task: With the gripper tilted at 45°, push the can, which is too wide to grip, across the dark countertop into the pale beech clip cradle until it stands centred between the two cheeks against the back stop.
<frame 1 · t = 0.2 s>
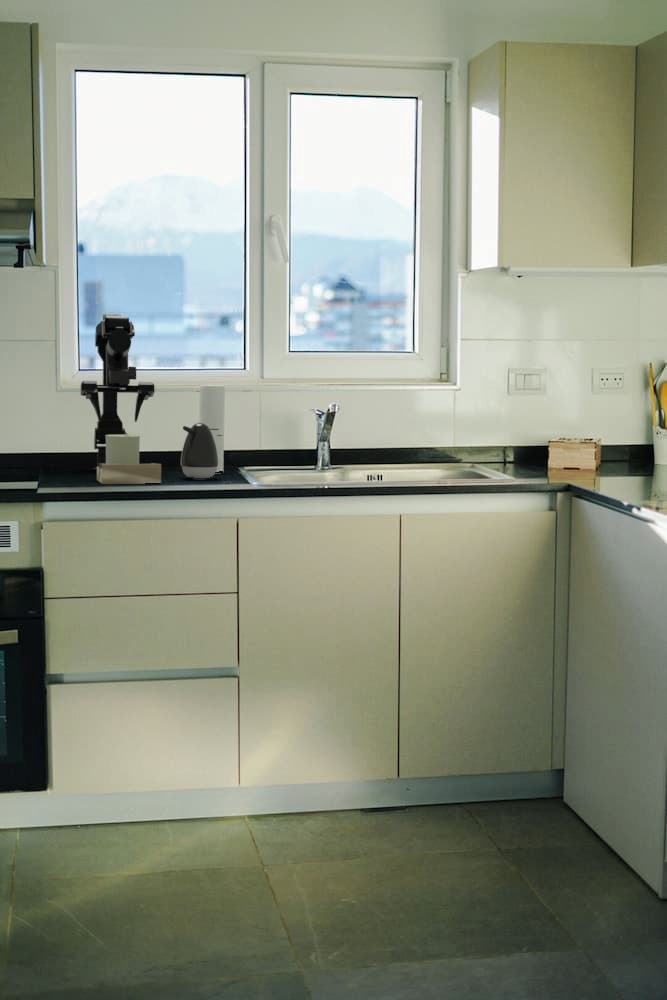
hand: (117, 421, 317), 16 cm above the countertop, tool pointing down, fingers open, 9 cm apart
pump dispenser: (198, 479, 333), on the countertop
can: (122, 479, 329), on the countertop
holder: (127, 481, 320), on the countertop
cylindrical container: (210, 473, 354), on the countertop
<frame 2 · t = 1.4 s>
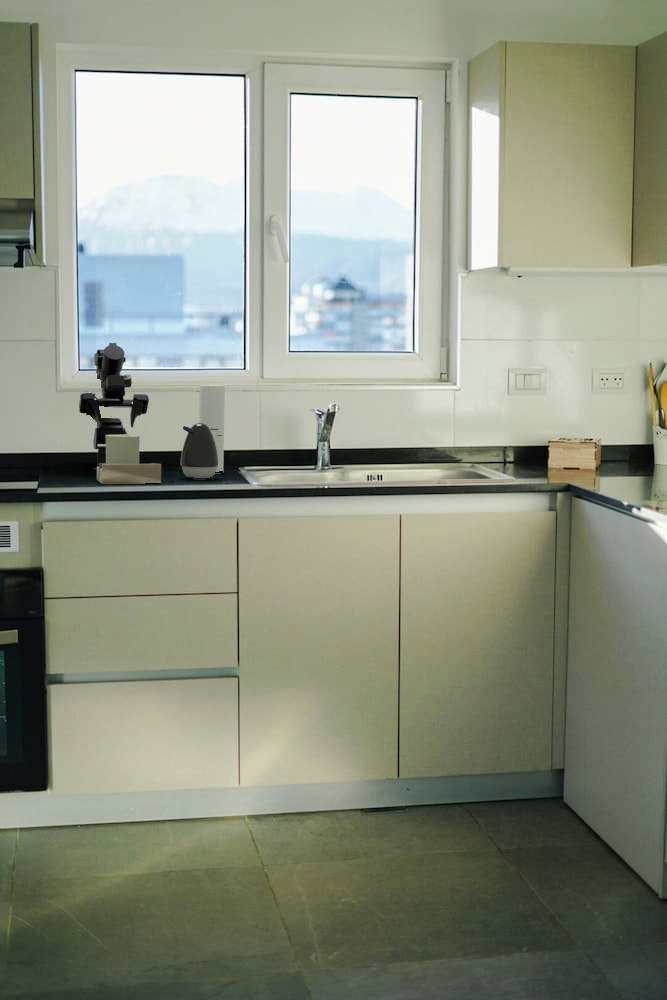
hand: (117, 426, 336), 13 cm above the countertop, tool tilted 45°, fingers open, 8 cm apart
nothing on the countertop moved.
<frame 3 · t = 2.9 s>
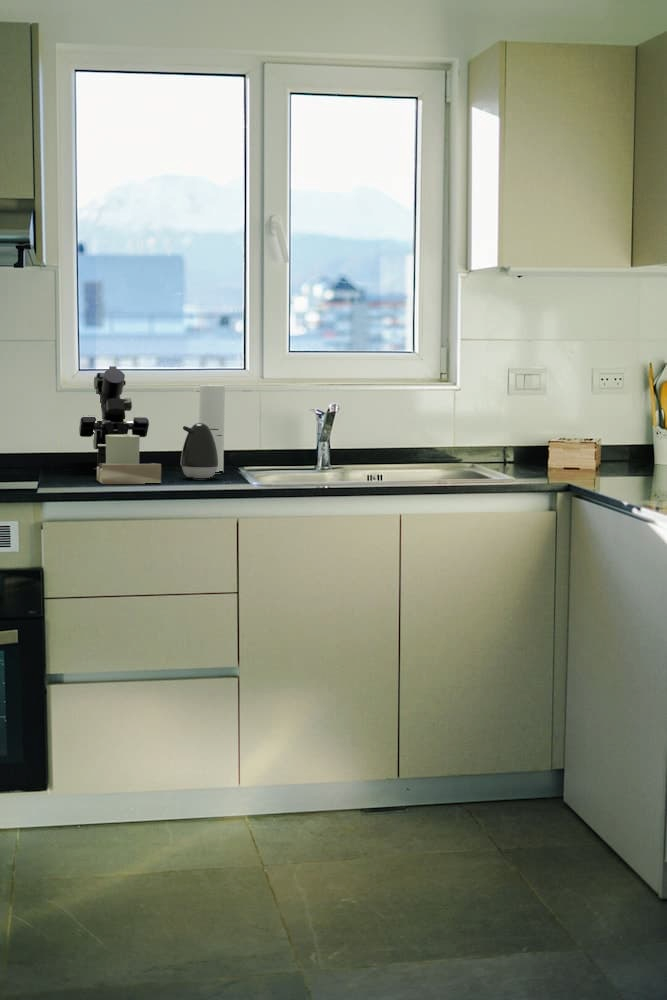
hand: (117, 449, 337), 7 cm above the countertop, tool tilted 45°, fingers closed
nothing on the countertop moved.
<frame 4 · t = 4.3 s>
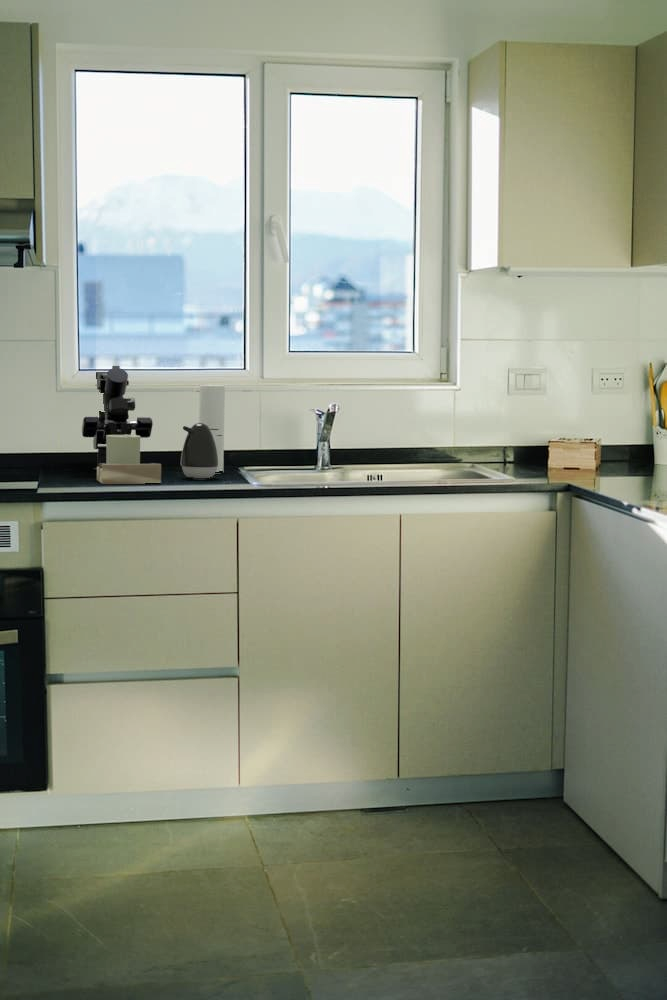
hand: (120, 449, 331), 7 cm above the countertop, tool tilted 45°, fingers closed, pressing on can
can: (123, 479, 328), on the countertop, touching gripper
everything else where it was.
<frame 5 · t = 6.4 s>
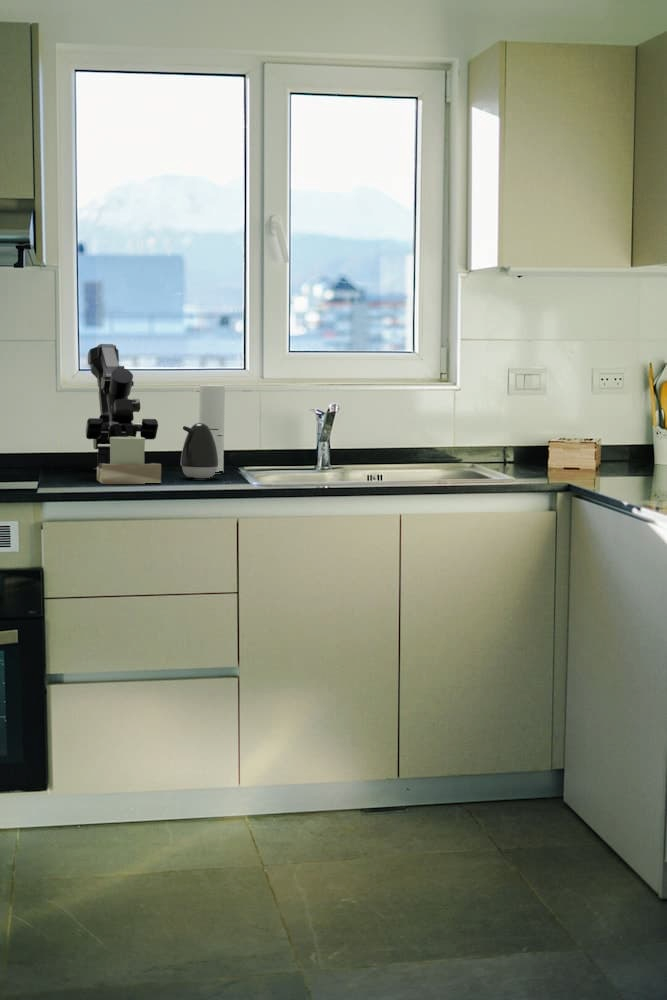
hand: (125, 452, 324), 7 cm above the countertop, tool tilted 45°, fingers closed, pressing on can
can: (127, 482, 320), on the countertop, touching gripper
everything else where it was.
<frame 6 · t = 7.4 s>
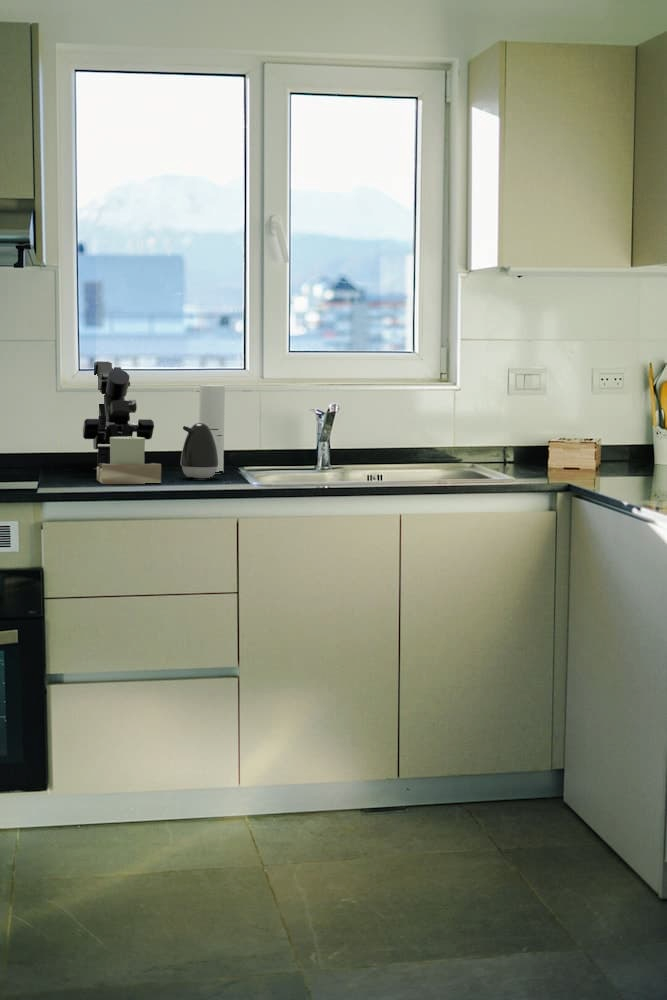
hand: (121, 452, 329), 7 cm above the countertop, tool tilted 45°, fingers closed
can: (127, 482, 320), on the countertop
everything else where it was.
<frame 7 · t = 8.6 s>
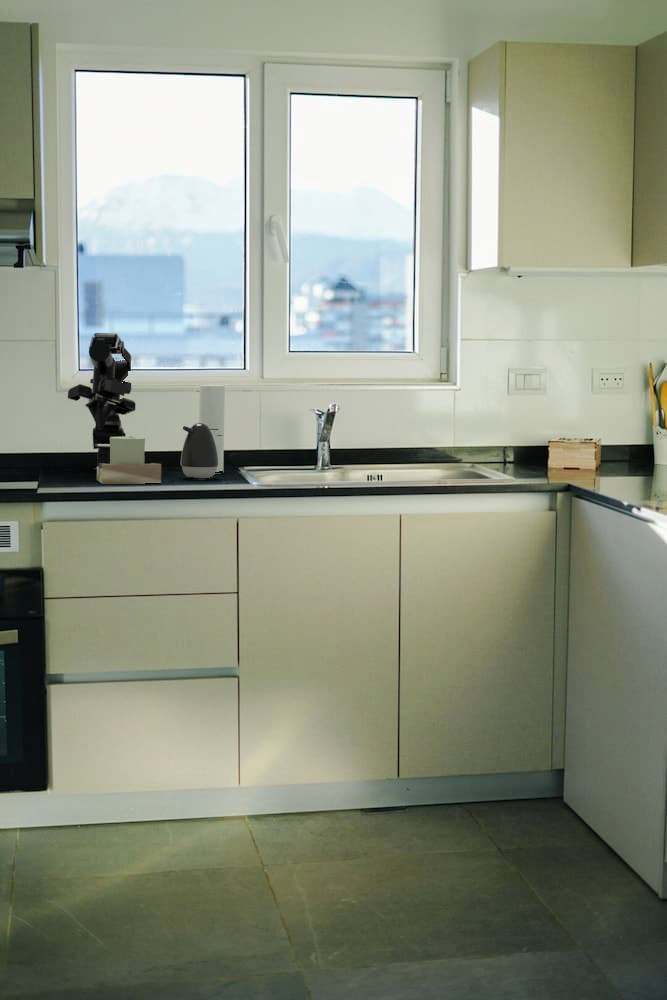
hand: (100, 429, 333), 13 cm above the countertop, tool tilted 20°, fingers closed
nothing on the countertop moved.
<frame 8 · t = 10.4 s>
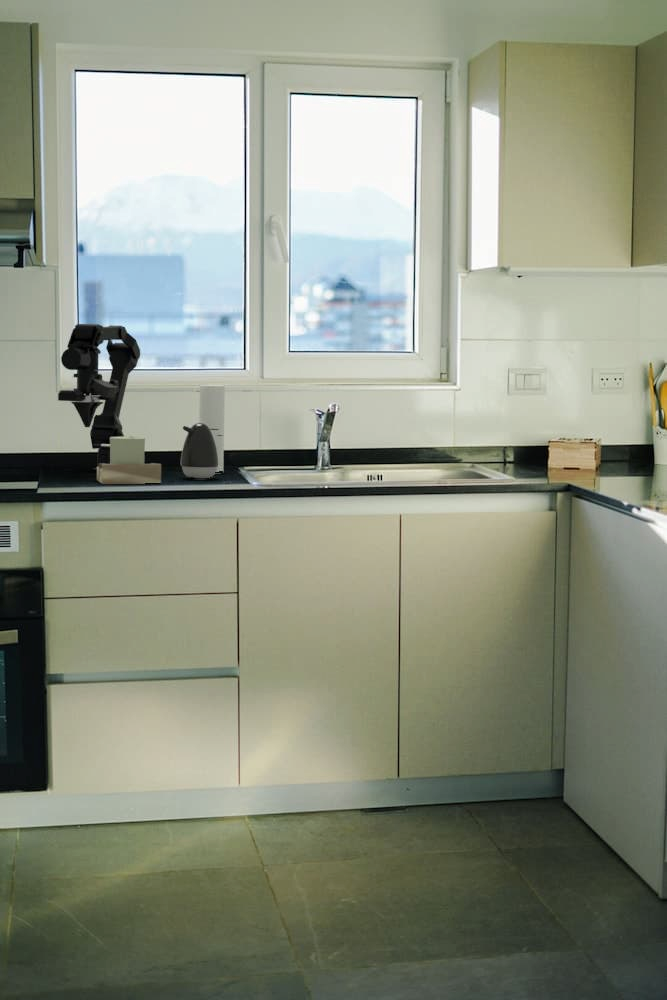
hand: (87, 427, 336), 13 cm above the countertop, tool pointing down, fingers closed
nothing on the countertop moved.
at the end: can 0.4 cm off-centre on the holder, point 0.0 cm above the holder's base; can tilted 0°; the gripper is holding nothing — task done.
